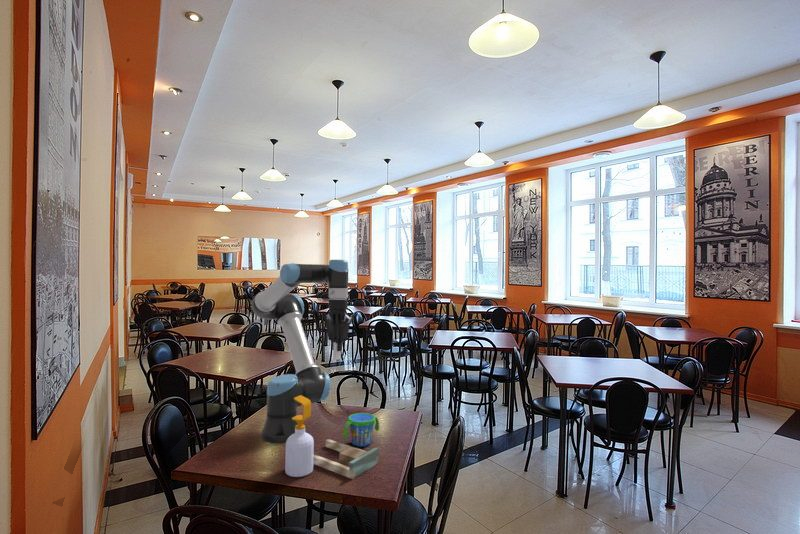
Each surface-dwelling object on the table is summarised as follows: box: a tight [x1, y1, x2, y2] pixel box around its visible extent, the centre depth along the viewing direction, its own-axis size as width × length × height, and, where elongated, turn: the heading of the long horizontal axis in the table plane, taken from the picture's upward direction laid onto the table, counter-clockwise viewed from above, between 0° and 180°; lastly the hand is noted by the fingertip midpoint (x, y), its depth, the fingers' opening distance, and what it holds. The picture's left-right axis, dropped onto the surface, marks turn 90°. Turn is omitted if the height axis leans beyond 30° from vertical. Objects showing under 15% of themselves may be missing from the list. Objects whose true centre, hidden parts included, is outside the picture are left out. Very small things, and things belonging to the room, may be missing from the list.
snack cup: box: [342, 412, 380, 447], centre depth 159 cm, size 16×10×10 cm
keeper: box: [338, 446, 366, 467], centre depth 141 cm, size 7×6×4 cm
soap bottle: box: [284, 395, 315, 478], centre depth 136 cm, size 9×9×25 cm
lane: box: [313, 438, 380, 480], centre depth 144 cm, size 24×14×5 cm, turn 56°
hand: (336, 358), depth 160 cm, fingers closed
